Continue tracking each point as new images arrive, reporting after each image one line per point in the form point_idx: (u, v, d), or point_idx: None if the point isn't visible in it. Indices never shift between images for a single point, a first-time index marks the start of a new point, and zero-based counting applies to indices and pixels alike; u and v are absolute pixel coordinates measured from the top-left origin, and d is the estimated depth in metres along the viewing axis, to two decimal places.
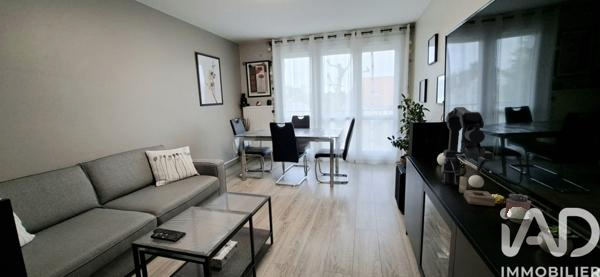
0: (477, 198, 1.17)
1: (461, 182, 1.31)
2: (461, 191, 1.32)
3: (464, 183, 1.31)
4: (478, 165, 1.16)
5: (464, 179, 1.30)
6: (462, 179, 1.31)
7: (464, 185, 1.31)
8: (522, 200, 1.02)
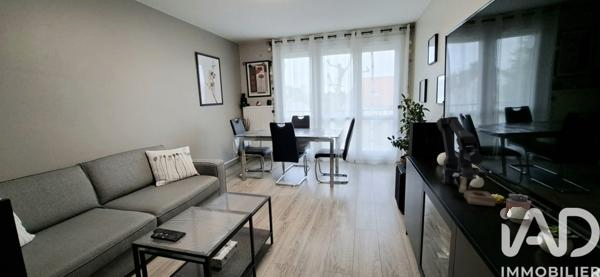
0: (477, 198, 1.17)
1: (461, 182, 1.31)
2: (461, 191, 1.32)
3: (464, 183, 1.30)
4: None
5: (464, 179, 1.30)
6: (462, 179, 1.31)
7: (464, 185, 1.31)
8: (522, 200, 1.02)
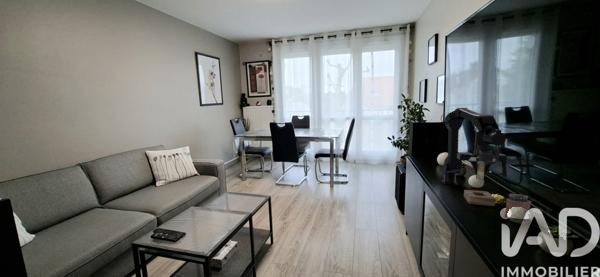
0: (477, 198, 1.17)
1: (478, 167, 1.18)
2: (478, 178, 1.19)
3: (482, 169, 1.18)
4: None
5: (482, 164, 1.18)
6: (479, 164, 1.18)
7: (482, 171, 1.18)
8: (522, 200, 1.02)
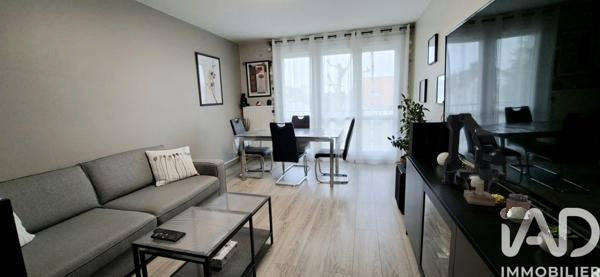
0: (477, 198, 1.17)
1: (478, 188, 1.19)
2: None
3: (481, 190, 1.19)
4: (489, 185, 1.19)
5: (481, 185, 1.18)
6: (479, 185, 1.19)
7: (481, 192, 1.19)
8: (522, 200, 1.02)
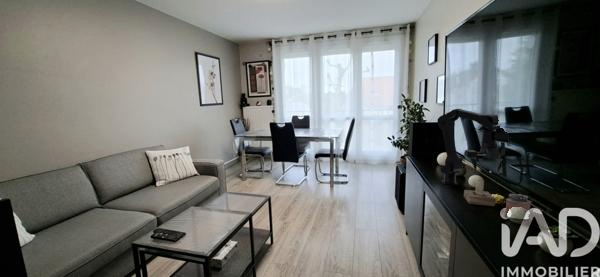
0: (477, 198, 1.17)
1: (477, 188, 1.20)
2: None
3: (481, 190, 1.19)
4: (498, 164, 1.24)
5: (481, 185, 1.19)
6: (478, 185, 1.19)
7: (481, 191, 1.19)
8: (522, 200, 1.02)
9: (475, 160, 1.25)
